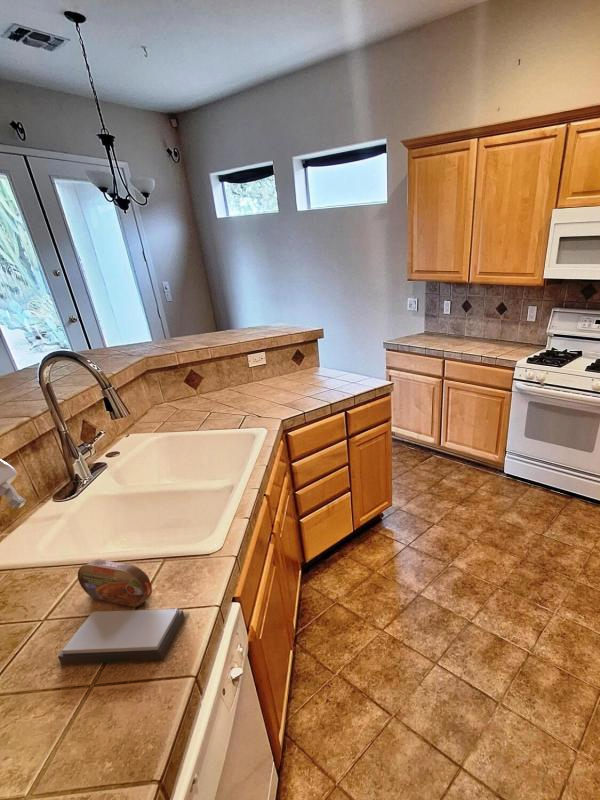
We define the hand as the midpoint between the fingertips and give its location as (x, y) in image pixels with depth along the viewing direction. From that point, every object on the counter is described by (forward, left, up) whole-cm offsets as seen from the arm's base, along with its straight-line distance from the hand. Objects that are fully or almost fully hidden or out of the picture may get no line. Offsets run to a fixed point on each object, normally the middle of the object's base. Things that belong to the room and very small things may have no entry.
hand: (3, 518), depth 76 cm
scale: (+22, -12, -19) cm, 31 cm away
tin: (+15, 0, -19) cm, 25 cm away
